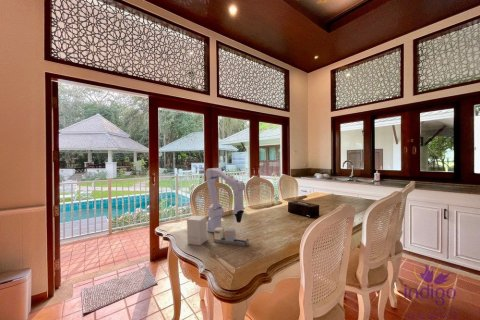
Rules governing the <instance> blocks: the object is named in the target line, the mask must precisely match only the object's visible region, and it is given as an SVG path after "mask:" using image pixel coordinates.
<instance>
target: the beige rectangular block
mask: <svg viewBox="0 0 480 320" xmlns="http://www.w3.org/2000/svg"><path fill="white" fill-rule="evenodd" d="M223 228H224V227H222V228H219V227H217V228H215V229H214V232H213V234H214V237H213V240H214V239H217V240H221V239H222V238H224V229H223Z"/></svg>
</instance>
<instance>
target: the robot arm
mask: <svg viewBox="0 0 480 320" xmlns="http://www.w3.org/2000/svg"><path fill="white" fill-rule="evenodd" d="M222 170H223V169H221V168H220V167H212V168H206V170H205V172H204V174H205V180H206V184H207V189H208V195H209V200H210V206H209V207H208V219H207V233H208V232H210V233H214V229H215V228H217V227H219V228H223V230H224V229H225V228H224V227H222V225H223V224H222V218H223V216H224V213H225V212H224V208H223V205H222V204H221V203H219V199H218V193H217V187H216V180H217V179H219V178H220V179H222V180H223V181H225V184H227V185H228V186H229V187H231V189H232V191H233V205H234V206H233V211H232V214H234V216H235V221H236V223H239V224H240V223H241V222H242V218H243V214H244V212H245V210H246V207H245V206H244V190H245V188H246V185H245V183H244V181H242V180H241V181H240V180H238V179H236V178H235V177H234V176H233V175H229V176H228V175H227V174H226V173H225V172H224V171H222Z"/></svg>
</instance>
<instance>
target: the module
mask: <svg viewBox="0 0 480 320" xmlns="http://www.w3.org/2000/svg"><path fill="white" fill-rule="evenodd" d="M224 233H225V237H224V238H225V241H234V240H235V239H237V238H236V233H237V232H236V228H227V229H225V232H224Z"/></svg>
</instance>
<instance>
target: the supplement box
mask: <svg viewBox="0 0 480 320" xmlns="http://www.w3.org/2000/svg"><path fill="white" fill-rule="evenodd" d="M207 222H208V219H207V216H204V215H193V216H190V217H188V218H187V219H186V229H187V230H186V232H187V233H186V235H187V245H193V246H194V245H195V246H202V244H204V243H206V241H207V240H208V231H207V230H208V225H207Z"/></svg>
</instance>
